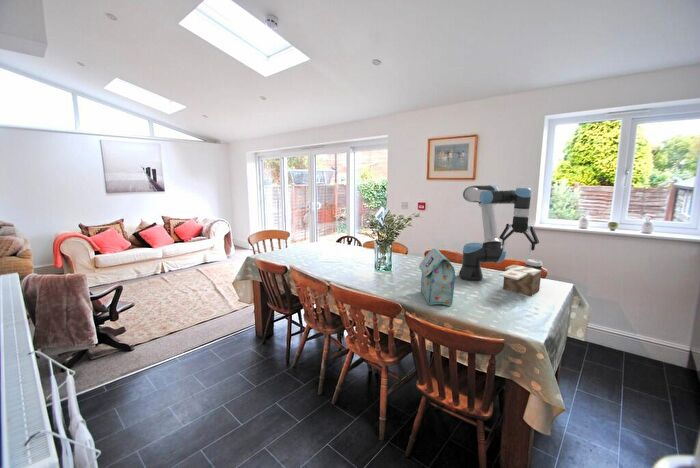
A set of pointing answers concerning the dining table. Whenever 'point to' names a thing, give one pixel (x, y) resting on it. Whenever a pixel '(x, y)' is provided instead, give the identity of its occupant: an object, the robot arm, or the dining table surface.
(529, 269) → the cardboard box
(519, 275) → the white flat panel
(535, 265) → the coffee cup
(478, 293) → the dining table surface
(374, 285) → the dining table surface
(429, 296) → the lunch bag
